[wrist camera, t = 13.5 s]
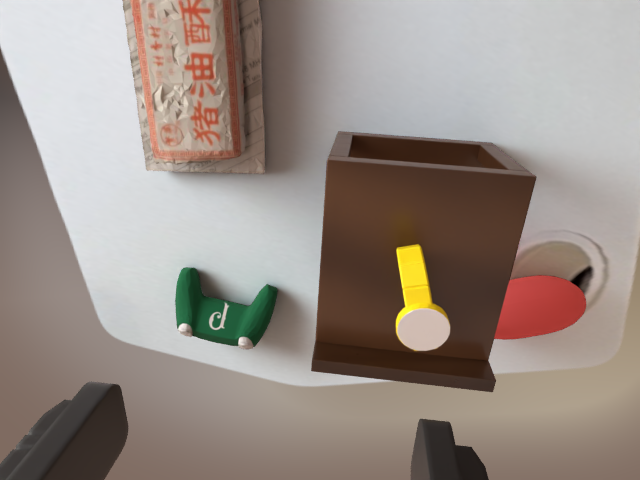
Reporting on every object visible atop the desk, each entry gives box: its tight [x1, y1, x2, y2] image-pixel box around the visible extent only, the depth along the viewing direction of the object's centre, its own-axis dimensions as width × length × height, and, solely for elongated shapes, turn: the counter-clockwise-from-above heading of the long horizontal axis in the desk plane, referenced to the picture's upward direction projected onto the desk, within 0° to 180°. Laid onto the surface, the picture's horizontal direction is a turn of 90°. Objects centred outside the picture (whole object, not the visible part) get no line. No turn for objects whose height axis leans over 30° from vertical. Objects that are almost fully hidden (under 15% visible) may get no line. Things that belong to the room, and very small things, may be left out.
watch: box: [396, 244, 450, 351], centre depth 25 cm, size 6×3×6 cm, turn 13°
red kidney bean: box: [494, 275, 586, 339], centre depth 37 cm, size 5×9×6 cm, turn 96°
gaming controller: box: [175, 267, 277, 349], centre depth 41 cm, size 9×4×6 cm
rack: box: [311, 131, 536, 392], centre depth 32 cm, size 14×12×12 cm
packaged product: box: [123, 0, 265, 174], centre depth 31 cm, size 18×5×10 cm
